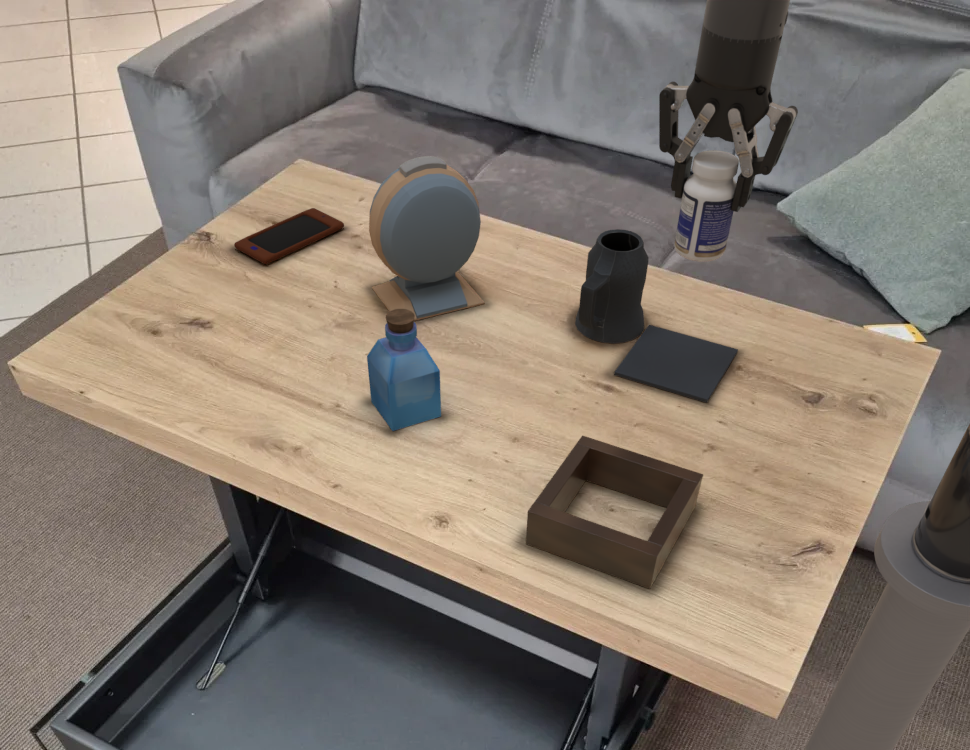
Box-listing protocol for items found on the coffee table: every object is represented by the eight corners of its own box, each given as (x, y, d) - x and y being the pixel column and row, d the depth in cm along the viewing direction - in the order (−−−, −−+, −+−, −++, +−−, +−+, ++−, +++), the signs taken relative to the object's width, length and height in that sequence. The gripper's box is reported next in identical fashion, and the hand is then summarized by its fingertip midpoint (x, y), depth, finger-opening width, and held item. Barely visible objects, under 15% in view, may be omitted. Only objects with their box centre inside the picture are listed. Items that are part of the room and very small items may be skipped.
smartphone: (232, 242, 132) (312, 205, 140) (233, 248, 133) (313, 212, 140) (264, 259, 129) (345, 221, 137) (265, 266, 130) (345, 228, 137)
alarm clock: (461, 268, 131) (460, 134, 117) (491, 302, 125) (494, 165, 112) (365, 290, 127) (352, 153, 113) (392, 326, 121) (382, 187, 108)
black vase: (596, 297, 126) (606, 215, 118) (656, 319, 123) (671, 236, 115) (550, 338, 120) (556, 254, 111) (612, 362, 117) (623, 277, 108)
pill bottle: (730, 245, 106) (750, 153, 99) (716, 268, 103) (736, 175, 95) (681, 234, 108) (698, 143, 100) (666, 256, 104) (682, 164, 97)
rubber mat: (737, 352, 119) (738, 349, 118) (707, 403, 112) (707, 399, 111) (648, 327, 122) (649, 324, 122) (613, 375, 115) (614, 371, 115)
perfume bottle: (392, 431, 107) (385, 338, 98) (371, 402, 111) (362, 309, 102) (441, 416, 109) (438, 323, 100) (418, 388, 113) (414, 296, 104)
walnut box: (695, 506, 100) (703, 474, 96) (650, 589, 92) (657, 556, 89) (578, 468, 104) (582, 435, 100) (525, 543, 96) (527, 511, 93)
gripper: (657, 21, 88) (633, 201, 101) (809, 48, 84) (763, 232, 97) (684, -2, 92) (657, 174, 105) (829, 23, 88) (783, 202, 101)
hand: (708, 201), depth 101 cm, fingers closed on pill bottle, 5 cm apart
